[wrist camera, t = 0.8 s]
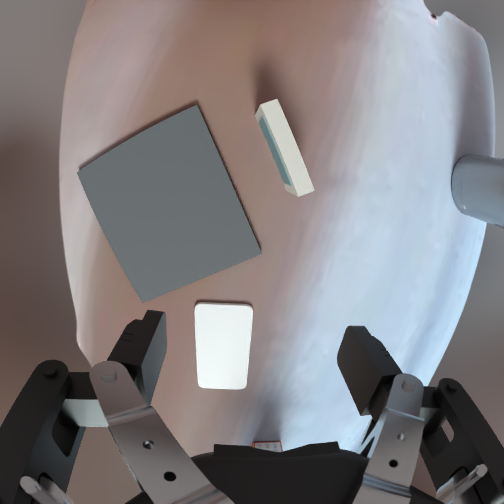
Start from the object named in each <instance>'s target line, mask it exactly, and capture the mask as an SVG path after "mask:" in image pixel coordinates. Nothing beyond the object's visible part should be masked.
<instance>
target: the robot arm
mask: <svg viewBox="0 0 504 504" xmlns="http://www.w3.org/2000/svg"><path fill="white" fill-rule="evenodd" d="M452 195H453V199H454V202H455V204H456V206H457V208H458V209H459V210H460V211H461V212H462V213H463V214H465V215H468V216H471V217H474V218H477V219H480V220H482V221H485V222H488V223H490V224H493V225H496V226H498V227H501V228H503V229H504V159H500V158H493V157H485V156H475V155H466V156H463V157H462V158H461V159H460V160H459V161H458V162H457V164H456V166H455V168H454V172H453V176H452ZM166 348H167V334H166V314H165V312H161V311H154V310H147V312H146V314H145V316H144V318H143V320H137V319H135V320H133V321H132V322H131V323H129V324H128V325H127V326H126V328H125V329H124V331H123V334H121V336H120V338H119V340H118V341H117V343H116V345H115V347H114V348H113V350H112V352H111V354H110V356H109V357H108V359H107V361H103V362H100V363H97V364H96V365H94V366H93V367H92V368H91V370H90V372H69V371H68V368H67V366H66V365H65V364H64V363H63V362H61V361H58V360H47V361H44V362H42V363H40V364H39V365H38V366H37V367H36V368H35V370H34V372H33V373H32V375H31V377H30V378H29V379H28V381H27V382H26V384H25V386H24V387H23V389H22V391H21V392H20V394H19V395H18V397H17V399H16V400H15V402H14V404H13V406H12V407H11V409H10V411H9V413H8V414H7V416H6V418H5V420H4V422H3V424H2V425H1V427H0V504H74V503H73V501H72V500H71V498H70V497H68V496H67V495H66V491H67V487H68V484H69V480H70V476H71V473H72V469H73V466H74V463H75V459H76V456H77V453H78V450H79V447H80V444H81V441H82V438H83V435H84V432H85V429H86V427H108V429H109V431H110V433H111V435H112V437H113V440H114V442H115V444H116V446H117V448H118V449H119V452H120V453H121V455H122V457H123V459H124V461H125V463H126V465H127V467H128V468H129V470H130V472H131V474H132V475H133V477H134V479H135V481H136V482H137V484H138V486H139V487H140V489H141V491H142V492H141V493H140V494H138V495H137V496H135V497H134V498H132V499H131V500H129V501H128V502H126V503H125V504H503V503H504V448H503V446H502V445H501V443H500V441H499V440H498V438H497V437H496V435H495V433H494V432H493V430H492V429H491V427H490V426H489V424H488V423H487V421H486V420H485V418H484V417H483V415H482V414H481V412H480V411H479V409H478V408H477V406H476V405H475V403H474V402H473V401H472V400H471V398H470V396H469V395H468V394H467V393H466V391H465V390H464V388H463V387H462V385H461V384H460V383H459V382H457V381H455V380H453V379H451V378H443V379H441V380H440V381H439V383H438V385H437V386H436V387H427V386H423V384H422V382H421V381H420V380H419V379H418V378H417V377H415V376H413V375H411V374H406V373H402V371H401V370H400V368H399V367H398V365H397V364H396V362H395V361H394V360H393V358H392V357H391V356H390V354H389V352H388V351H386V348H385V347H384V345H383V344H382V343H381V342H380V341H379V340H378V339H376V338H375V337H374V336H371V334H370V333H369V332H368V330H367V329H366V327H365V326H348V327H347V328H346V331H345V334H344V337H343V340H342V343H341V345H340V348H339V351H338V355H337V363H338V366H339V369H340V371H341V373H342V375H343V377H344V380H345V382H346V384H347V386H348V389H349V391H350V393H351V395H352V398H353V400H354V402H355V404H356V407H357V409H358V411H359V414H360V416H364V415H371V416H372V418H371V420H370V421H369V423H368V426H367V428H366V431H365V433H364V435H363V438H362V440H361V442H360V444H359V447H358V449H357V451H356V453H355V452H352V451H348V450H343V449H340V448H339V445H338V442H337V441H336V442H327V443H318V444H308V445H305V446H302V447H298V448H295V449H291V450H287V451H283V452H274V451H269V450H264V449H259V448H254V447H249V446H238V445H220V444H214V452H210V453H204V454H200V455H197V456H194V457H191V458H190V457H189V456H188V455H187V454H186V452H185V451H184V450H183V448H182V447H181V446H180V444H179V443H178V442H177V440H176V439H175V438H174V436H173V435H172V433H171V432H170V431H169V429H168V428H167V426H166V425H165V423H164V422H163V420H162V419H161V417H160V416H159V414H158V413H157V411H156V410H155V409H154V408H153V407H152V406H150V404H151V400H152V397H153V393H154V390H155V387H156V383H157V380H158V377H159V374H160V370H161V367H162V364H163V361H164V358H165V354H166ZM446 419H447V420H448V422H449V424H450V425H451V427H452V429H453V431H454V438H453V440H452V441H451V443H450V442H449V440H448V438H447V436H446V434H445V432H444V431H443V429H442V427H441V425H442V424H443V423H444V421H445V420H446ZM419 451H420V453H421V455H422V458H423V460H424V462H425V464H426V467H427V469H428V471H429V474H430V476H431V479H432V481H433V483H434V486H435V488H436V490H437V494H436V498H434V497H432V496H430V495H428V494H426V493H424V492H423V491H421V490H419V489H417V488H415V487H413V486H412V485H410V484H411V481H412V477H413V474H414V470H415V466H416V462H417V458H418V453H419Z"/></svg>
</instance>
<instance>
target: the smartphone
mask: <svg viewBox="0 0 504 504" xmlns="http://www.w3.org/2000/svg"><path fill="white" fill-rule="evenodd" d="M252 318H253V309H252V307H251V306H250V305H248V304H234V303H211V302H199V303H197V304H196V306H195V340H196V358H197V375H198V385H199V386H200V387H202V388H214V389H244V388H245V387H246V385H247V374H248V363H249V352H250V342H251V331H252V330H251V329H252Z"/></svg>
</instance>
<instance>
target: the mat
mask: <svg viewBox="0 0 504 504" xmlns="http://www.w3.org/2000/svg"><path fill="white" fill-rule="evenodd" d="M77 174H78V176H79V179H80V181H81V184H82V186H83V188H84V191H85V193H86V195H87V198H88V200H89V202H90V204H91V207H92V209H93V211H94V213H95V215H96V218H97V220H98V222H99V224H100V226H101V228H102V230H103V232H104V234H105V236H106V238H107V240H108V242H109V244H110V246H111V248H112V250H113V252H114V254H115V256H116V257H117V259H118V261H119V263H120V265H121V267H122V268H123V270H124V272H125V274H126V276H127V277H128V279H129V281H130V283H131V284H132V286H133V288H134V290H135V291H136V293H137V295H138V296H139V298H140V300H141V301H142V303H143V302H145V301H148V300H150V299H153V298H155V297H158V296H160V295H163V294H165V293H168V292H170V291H172V290H175V289H177V288H180V287H182V286H185V285H187V284H189V283H192V282H194V281H197V280H199V279H202V278H204V277H207V276H209V275H211V274H214V273H216V272H219V271H221V270H223V269H226V268H228V267H231V266H233V265H236V264H238V263H240V262H243V261H245V260H248V259H250V258H253V257H255V256H257V255H260V254H262V253H261V250H260V248H259V245H258V243H257V241H256V238H255V236H254V234H253V231H252V229H251V227H250V224H249V222H248V220H247V217H246V215H245V213H244V210H243V208H242V206H241V204H240V201H239V199H238V197H237V194H236V192H235V190H234V187H233V185H232V183H231V180H230V178H229V176H228V174H227V171H226V169H225V167H224V164H223V162H222V160H221V158H220V155H219V153H218V151H217V148H216V146H215V144H214V142H213V139H212V137H211V135H210V132H209V130H208V128H207V126H206V123H205V121H204V119H203V117H202V114H201V112H200V110H199V108H198V105H195V106H193V107H191V108H189V109H186V110H184V111H182V112H180V113H178V114H176V115H174V116H172V117H170V118H168V119H166V120H164V121H162V122H160V123H158V124H156V125H154V126H152V127H150V128H148V129H146V130H145V131H143V132H141V133H139V134H137V135H135V136H134V137H132V138H130V139H128V140H127V141H125V142H123V143H122V144H120V145H118V146H117V147H115V148H113V149H112V150H110V151H108V152H107V153H105V154H104V155H102V156H101V157H99V158H97V159H96V160H94V161H93V162H91V163H90V164H88V165H87V166H85V167H84V168H83V169H81V170H80V171H78V172H77Z"/></svg>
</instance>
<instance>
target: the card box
mask: <svg viewBox="0 0 504 504" xmlns="http://www.w3.org/2000/svg"><path fill="white" fill-rule="evenodd" d="M255 117H256V119H257V121H258V123H259V126H260V128H261V130H262V133H263V135H264V137H265V140H266V142H267V144H268V147H269V149H270V151H271V154H272V156H273V159H274V161H275V164H276V166H277V168H278V171H279V173H280V176H281V178H282V181H283V183H284V186H285V189H286V190H287V191H289V192H290V193H292V194H294V195H296V196H298V197H299V196H302V195H304V194H307V193H309V192H312V191H314V188H313V185H312V183H311V180H310V177H309V175H308V172H307V169H306V167H305V164H304V162H303V159H302V156H301V154H300V151H299V149H298V146H297V144H296V141H295V139H294V137H293V134H292V132H291V129H290V127H289V125H288V122H287V120H286V118H285V115H284V113H283V111H282V108H281V106H280V104H279V102H278V100H277V99H275V100H272V101H269V102H266V103H263V104H260V106H259V108H258V110H257V112H256V114H255Z"/></svg>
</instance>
